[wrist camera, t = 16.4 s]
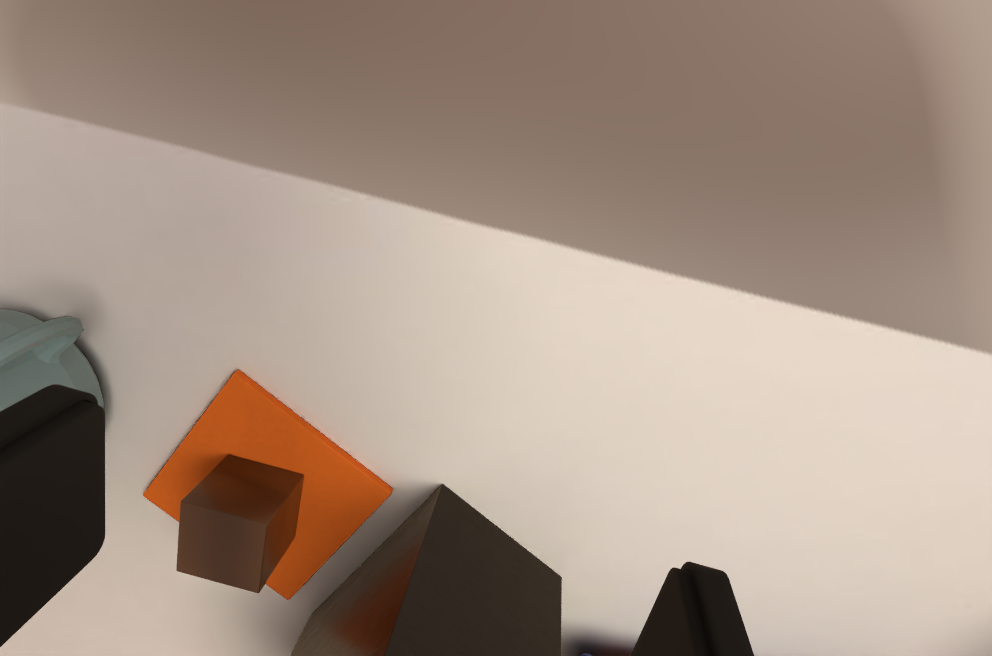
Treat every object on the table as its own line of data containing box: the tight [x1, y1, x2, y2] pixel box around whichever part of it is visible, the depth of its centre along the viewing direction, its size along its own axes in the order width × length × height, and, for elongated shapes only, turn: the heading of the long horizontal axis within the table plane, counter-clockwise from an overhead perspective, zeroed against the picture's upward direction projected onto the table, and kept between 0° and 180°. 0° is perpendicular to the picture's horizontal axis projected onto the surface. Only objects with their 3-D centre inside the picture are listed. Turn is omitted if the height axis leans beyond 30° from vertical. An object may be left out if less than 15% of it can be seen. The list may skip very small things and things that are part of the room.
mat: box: [143, 370, 393, 600], centre depth 39 cm, size 12×12×1 cm
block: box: [177, 454, 304, 593], centre depth 36 cm, size 5×5×5 cm
